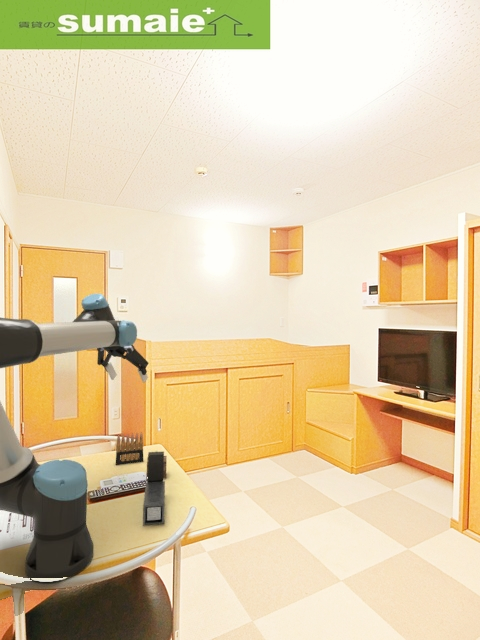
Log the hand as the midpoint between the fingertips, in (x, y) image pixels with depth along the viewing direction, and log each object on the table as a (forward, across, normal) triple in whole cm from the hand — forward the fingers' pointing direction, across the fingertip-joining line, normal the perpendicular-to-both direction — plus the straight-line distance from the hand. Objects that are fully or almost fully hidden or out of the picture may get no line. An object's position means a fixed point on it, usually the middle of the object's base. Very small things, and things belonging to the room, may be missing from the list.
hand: (129, 378), depth 139 cm
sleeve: (+17, -23, +38) cm, 47 cm away
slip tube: (+18, -21, +34) cm, 44 cm away
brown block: (+30, -12, +20) cm, 38 cm away
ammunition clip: (+34, +5, +15) cm, 37 cm away
